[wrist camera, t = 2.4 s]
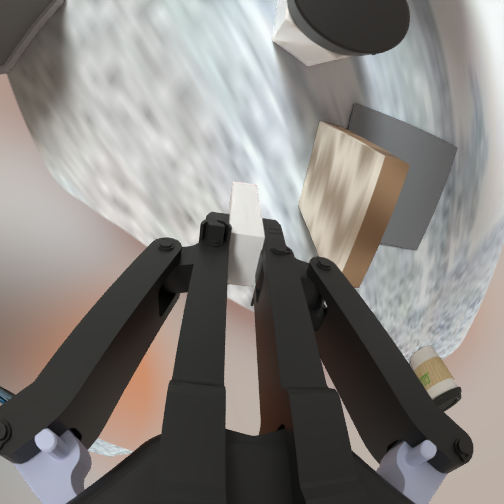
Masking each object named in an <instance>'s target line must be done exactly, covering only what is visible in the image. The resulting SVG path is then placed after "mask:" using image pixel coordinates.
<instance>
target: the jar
mask: <svg viewBox="0 0 504 504" xmlns="http://www.w3.org/2000/svg"><path fill="white" fill-rule="evenodd" d="M409 23H410V12H409V7H408V3H407V1H406V0H278V3H277V6H276V13H275V20H274V26H273V33H272V41H274V42H275V43H277V44H278V45H279V46H281V47H282V48H284V49H285V50H286V51H288V52H289V53H290V54H292V55H293V56H294V57H296V58H297V59H298V60H300V61H301V62H302V63H304V64H305V65H306V66H313V65H317V64H321V63H325V62H329V61H334V60H338V59H342V58H347V57H351V56H364V55H370V54H372V55H375V54H379V53H383V52H385V51H388V50H390V49H392V48H394V47H395V46H397V45H398V44H399V43H400V42H401V41H402V40H403V39H404V37H405V35H406V34H407V31H408V28H409Z"/></svg>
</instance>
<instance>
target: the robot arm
mask: <svg viewBox="0 0 504 504" xmlns="http://www.w3.org/2000/svg"><path fill="white" fill-rule="evenodd" d="M254 282H256V286H255V290H254V294H253V298H252V302H251V306H253V304H254V310H255V327H256V345H257V363H258V379H259V396H260V397H259V398H260V414H261V427H260V432H259V435H258V436H250V435H246V434H243V433H239V432H235V431H232V430H228V429H225V415H226V413H225V412H226V390H225V386H224V360H225V328H226V305H227V284H233V285H241V286H250V287H253V286H254ZM184 292H188V294H187V299H186V304H185V309H184V315H183V319H182V325H181V330H180V336H179V341H178V347H177V353H176V358H175V365H174V371H173V376H172V380H171V381H170V382H169V386H168V391H167V398H166V404H165V412H164V419H163V426H162V434H160V435H158V436H155V437H153V438H151V439H149V440H148V441H146V442H145V443H143V444H142V445H141V446H140V447H139V448H137V449H136V450H135V451H134V452H133V453H131V454H130V455H129V456H128V457H126V458H125V459H124V460H123V461H122V462H120V463H119V464H118V465H117V466H115V467H114V468H113V469H112V470H110V471H109V472H108V473H106V474H105V475H104V476H103V477H101V478H100V479H99V480H97V481H96V482H95V483H93V484H92V485H91V486H89V487H88V488H87V489H85V490H84V479H85V477H86V475H87V474H88V472H89V470H90V468H91V457H90V454H89V452H88V449H89V448H90V447H91V445H92V444H93V443H94V442H95V440H96V439H97V438H98V436H99V435H100V433H101V432H102V430H103V428H104V427H105V425H106V423H107V421H108V419H109V417H110V416H111V414H112V412H113V410H114V408H115V406H116V405H117V403H118V401H119V399H120V397H121V395H122V394H123V392H124V390H125V388H126V387H127V385H128V383H129V381H130V380H131V378H132V376H133V374H134V372H135V371H136V369H137V367H138V366H139V364H140V362H141V360H142V359H143V357H144V355H145V353H146V352H147V350H148V348H149V347H150V345H151V343H152V342H153V340H154V338H155V336H156V335H157V333H158V331H159V330H160V328H161V326H162V325H163V323H164V321H165V320H166V318H167V316H168V315H169V313H170V312H171V310H172V308H173V307H174V305H175V303H176V302H177V300H178V298H179V296H180V293H184ZM324 302H326V304H327V308H326V306H325V305H324ZM321 360H322V362H323V364H324V366H325V368H326V370H327V372H328V374H329V376H330V378H331V379H332V382H333V383H334V385H335V387H336V389H337V391H338V392H336V390H335V389H331V388H328V386H327V384H326V380H325V376H324V372H323V367H322V363H321ZM338 393H339V394H338ZM339 395H340V397H341V399H342V401H343V403H344V405H345V407H346V409H347V411H348V413H349V415H350V417H351V419H352V421H353V423H354V425H355V427H356V429H357V431H358V433H359V435H360V437H361V439H362V440H363V442H364V444H365V446H366V447H367V449H368V450H369V452H370V453H371V454H372V456H373V457H374V458H375V459H376V461H377V462H378V463H379V464H380V467H379V468H378V469H377V471H375V470H373V469H372V468H371V467H370V466H369V465H368V464H366V463H365V462H364V461H363V460H362V459H361V458H360V457H359V456H357V455H356V454H355V453H354V452H353V451H352V450H351V445H350V441H349V436H348V431H347V426H346V422H345V418H344V413H343V409H342V405H341V401H340V397H339ZM472 454H473V443H472V440H471V438H470V437H469V435H468V434H467V433H466V432H465V431H464V430H463V429H462V428H460V427H459V426H458V425H457V424H456V423H455V422H454V421H453V420H452V419H451V418H450V417H449V416H447V415H446V414H445V413H444V412H443V411H442V410H441V409H440V408H439V407H438V406H437V405H435V403H434V402H433V400H432V398H431V397H430V395H429V394H428V392H427V391H426V389H425V388H424V386H423V384H422V383H421V381H420V380H419V378H418V377H417V375H416V374H415V372H414V371H413V369H412V368H411V366H410V365H409V363H408V362H407V360H406V359H405V357H404V356H403V355H402V353H401V352H400V350H399V349H398V347H397V346H396V344H395V343H394V342H393V340H392V339H391V337H390V336H389V335H388V333H387V332H386V330H385V329H384V328H383V326H382V325H381V323H380V322H379V321H378V319H377V318H376V317H375V315H374V314H373V312H372V311H371V310H370V308H369V307H368V306H367V304H366V303H365V302H364V300H363V299H362V298H361V296H360V295H359V294H358V292H357V291H356V290H355V288H354V287H353V286H352V285H351V283H350V282H349V281H348V279H347V278H346V277H345V275H344V274H343V273H342V272H341V270H340V269H339V268H338V267H337V265H336V264H335V263H334V262H333V261H331V260H329V259H327V258H325V257H313V258H312V259H311V260H310V263H306V262H303V261H300V260H298V259H296V258H295V257H294V254H293V252H292V250H291V249H290V248H289V247H287V246H286V244H285V240H284V236H283V232H282V228H281V225H280V224H279V223H278V222H277V221H276V220H271V219H264V218H262V215H261V208H260V202H259V195H258V189H257V185H254V184H248V183H241V182H234V181H233V186H232V192H231V198H230V204H229V211H228V214H224V213H216V212H211V213H209V214H208V215H207V216H206V220H204V221H202V223H201V226H200V237H199V243H198V244H196V245H193V246H189V247H182V246H181V243H180V242H179V241H178V240H175V239H173V238H159V239H156V240H155V241H153V242H152V243H151V244H150V245H149V246H148V247H147V248H146V249H145V250H144V251H143V252H142V253H141V254H140V255H139V256H138V257H137V258H136V259H135V261H134V262H133V263H132V264H131V265H130V266H129V267H128V268H127V269H126V270H125V271H124V272H123V274H122V275H121V276H120V277H119V278H118V279H117V280H116V281H115V282H114V283H113V284H112V286H111V287H110V288H109V289H108V290H107V291H106V292H105V293H104V295H103V296H102V297H101V298H100V299H99V300H98V301H97V303H96V304H95V305H94V306H93V307H92V308H91V310H90V311H89V312H88V313H87V314H86V315H85V317H84V318H83V319H82V320H81V322H80V323H79V324H78V325H77V326H76V328H75V329H74V330H73V331H72V333H71V334H70V335H69V336H68V338H67V339H66V340H65V341H64V343H63V344H62V345H61V346H60V348H59V349H58V350H57V352H56V353H55V354H54V356H53V357H52V358H51V359H50V361H49V362H48V363H47V365H46V366H45V368H44V369H43V370H42V372H41V373H40V375H39V376H38V377H37V379H36V380H35V381H34V382H33V383H32V384H30V385H29V386H28V387H26V388H25V389H23V390H22V391H20V392H19V393H18V394H17V395H15V396H14V397H12V398H11V399H9V400H8V401H7V402H5V403H4V404H3V405H1V406H0V455H1V456H2V457H4V458H6V459H7V460H9V461H10V462H12V463H13V464H14V465H15V466H16V468H17V469H18V471H19V472H20V474H21V475H22V477H23V478H24V480H25V481H26V483H27V484H28V485H29V487H30V488H31V489H32V490H33V492H34V493H35V494H36V496H37V497H38V498H39V500H40V501H41V502H42V503H43V504H428V502H429V501H430V500H431V498H432V496H433V495H434V494H435V492H436V491H437V489H438V488H439V486H440V485H441V483H442V481H443V480H444V478H445V476H446V475H447V474H448V473H449V472H451V471H453V470H455V469H457V468H458V467H460V466H462V465H464V464H466V463H467V462H469V460H470V459H471V458H472Z"/></svg>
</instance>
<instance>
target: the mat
mask: <svg viewBox="0 0 504 504" xmlns="http://www.w3.org/2000/svg"><path fill="white" fill-rule="evenodd" d="M348 130H349V131H351V132H353V133H355V134H357V135H359V136H361V137H362V138H364V139H366V140H368V141H370V142H372V143H374V144H375V145H377V146H379V147H381V148H383V149H384V150H386V151H388V152H390V153H391V154H393V155H395V156H396V157H398V158H400V159H401V160H403V161H405V162H406V163H408V164H410V166H409V169H408V172H407V175H406V178H405V181H404V184H403V187H402V189H401V192H400V195H399V197H398V200H397V203H396V205H395V208H394V210H393V213H392V215H391V218H390V220H389V223H388V225H387V228H386V230H385V232H384V235H383V237H382V239H381V242H380V244H386V245H391V246H397V247H402V248H408V249H413V250H417V248H418V246H419V244H420V242H421V240H422V238H423V236H424V234H425V232H426V229H427V227H428V225H429V223H430V220H431V218H432V216H433V213H434V211H435V209H436V206H437V204H438V201H439V199H440V196H441V194H442V191H443V189H444V186H445V183H446V181H447V178H448V175H449V172H450V170H451V167H452V164H453V161H454V158H455V154H456V151H457V147H455V146H453V145H451V144H449V143H447V142H445V141H443V140H441V139H440V138H438V137H435V136H433V135H431V134H429V133H427V132H425V131H423V130H421V129H419V128H416V127H414V126H412V125H410V124H407V123H405V122H403V121H400V120H398V119H395V118H393V117H391V116H388V115H385V114H383V113H380V112H378V111H375V110H372V109H369V108H366V107H364V106H361V105H358V104H355V103H354V106H353V110H352V114H351V118H350V122H349V126H348Z"/></svg>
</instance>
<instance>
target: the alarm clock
mask: <svg viewBox="0 0 504 504" xmlns="http://www.w3.org/2000/svg"><path fill="white" fill-rule="evenodd" d="M64 1H65V0H0V74H5V73H8V72H10V71H11V70H12V68H13V67H14V65H15V64H16V62H17V61H18V59H19V58H20V56H21V55H22V53H23V52H24V51H25V49H26V48H27V46H28V45H29V44H30V42H31V41H32V40H33V38H34V37H35V36H36V34H37V33H38V32H39V31H40V29H41V28H42V27H43V26H44V25H45V23H46V22H47V21H48V20H49V19H50V17H51V16H52V15H53V14H54V13H55V12H56V11H57V10H58V9H59V7H60V6H61V5H62V4H63V3H64Z"/></svg>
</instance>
